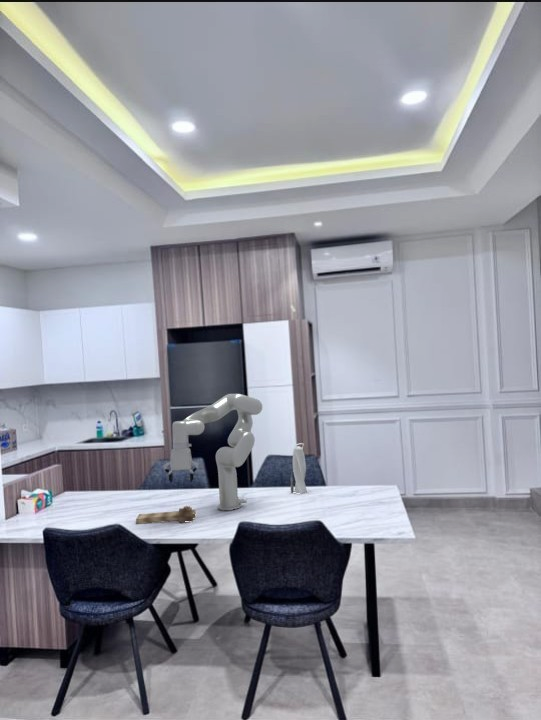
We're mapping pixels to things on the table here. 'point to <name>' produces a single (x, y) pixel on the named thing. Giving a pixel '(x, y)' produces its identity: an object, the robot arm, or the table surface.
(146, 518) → the board
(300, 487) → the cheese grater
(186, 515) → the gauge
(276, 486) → the table surface
